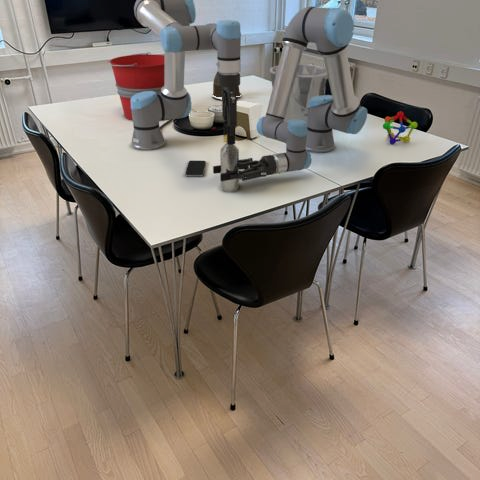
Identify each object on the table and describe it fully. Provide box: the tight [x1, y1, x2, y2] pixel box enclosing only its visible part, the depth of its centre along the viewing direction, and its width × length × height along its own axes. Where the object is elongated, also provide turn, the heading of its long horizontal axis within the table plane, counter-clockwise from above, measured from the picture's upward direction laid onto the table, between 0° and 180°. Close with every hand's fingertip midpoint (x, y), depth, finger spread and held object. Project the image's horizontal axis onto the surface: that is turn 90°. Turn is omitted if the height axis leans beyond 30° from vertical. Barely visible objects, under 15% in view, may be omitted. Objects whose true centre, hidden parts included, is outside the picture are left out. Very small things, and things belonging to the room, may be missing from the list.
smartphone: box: [184, 160, 207, 177], centre depth 182 cm, size 7×1×15 cm
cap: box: [223, 135, 227, 144], centre depth 157 cm, size 4×4×2 cm
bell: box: [212, 70, 242, 97], centre depth 278 cm, size 19×26×20 cm
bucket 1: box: [106, 51, 164, 121], centre depth 240 cm, size 35×35×30 cm
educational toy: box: [382, 110, 418, 145], centre depth 207 cm, size 16×13×15 cm
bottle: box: [219, 142, 240, 193], centre depth 162 cm, size 7×7×20 cm
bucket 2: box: [269, 63, 328, 123], centre depth 226 cm, size 30×30×28 cm
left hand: (229, 141), depth 158 cm, fingers open, 5 cm apart
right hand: (217, 173), depth 162 cm, fingers closed on bottle, 7 cm apart
